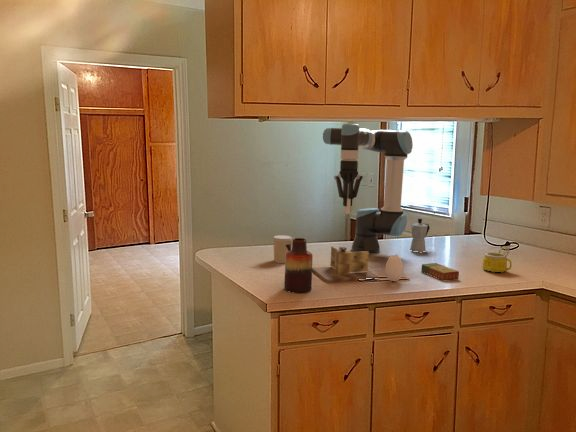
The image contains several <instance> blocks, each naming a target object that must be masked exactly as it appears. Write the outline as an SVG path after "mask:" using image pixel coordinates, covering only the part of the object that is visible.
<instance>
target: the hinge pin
mask: <svg viewBox="0 0 576 432" xmlns="http://www.w3.org/2000/svg"><path fill="white" fill-rule="evenodd" d="M338 250H341V251H340V252H345V250H347V247H345V246H339V249H338ZM347 251H348V250H347Z"/></svg>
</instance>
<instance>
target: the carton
mask: <svg viewBox="0 0 576 432" xmlns="http://www.w3.org/2000/svg"><path fill="white" fill-rule="evenodd" d="M423 272H425V273H428V274H430V275H432V276H431V277H433V276H435V277H437V278H439V279H438V280H440V279H442V280H450V281H454V280H453V279H458V280H459V277H460V276H459V275H460V272H459V270H456V269H453V268H450V267H448V266H445V265H443V264H440V263H436V262H432V263H424V264H421V273H423ZM425 273H424V274H425ZM428 274H427V275H428ZM430 275H429V276H430ZM435 277H434V278H435ZM437 278H436V279H437ZM442 280H441V281H442Z"/></svg>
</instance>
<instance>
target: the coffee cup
mask: <svg viewBox="0 0 576 432" xmlns="http://www.w3.org/2000/svg"><path fill="white" fill-rule="evenodd" d="M272 240H273V260H274V262H275V263H278V264H285V254H286V253H287V252H288V251H291V250H292V241H293V237H292V236H291V235H283V234H282V235H281V234H278V235H274V236H273V237H272Z"/></svg>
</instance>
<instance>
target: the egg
mask: <svg viewBox="0 0 576 432" xmlns="http://www.w3.org/2000/svg"><path fill="white" fill-rule="evenodd" d="M402 261H403V260H402V259H401V257H400V256H399V255H397V254H393V255H391V256H390V257H389V258H388V259H387V261H386V264H385V268H384V269H385V270H384V271H385V276H386V277H387V279H388V281H390V282H392V281H396V282H398V281H399V280H400V279H401V278H402V276H403V274H404V264H403V262H402Z"/></svg>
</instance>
